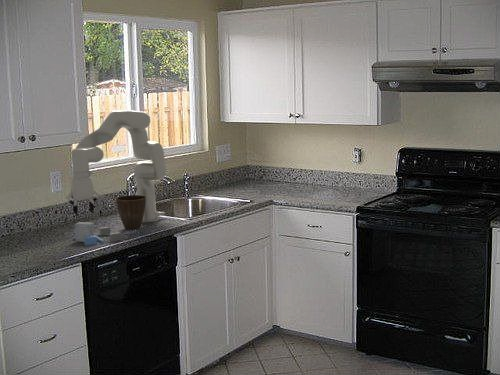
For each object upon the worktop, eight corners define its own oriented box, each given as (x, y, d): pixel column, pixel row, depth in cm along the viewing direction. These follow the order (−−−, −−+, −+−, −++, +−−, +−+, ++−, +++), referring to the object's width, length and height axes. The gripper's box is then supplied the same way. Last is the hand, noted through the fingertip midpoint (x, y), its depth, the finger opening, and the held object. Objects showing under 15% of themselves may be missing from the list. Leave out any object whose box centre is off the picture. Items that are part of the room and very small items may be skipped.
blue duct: (92, 235, 343) (91, 228, 342) (104, 242, 327) (103, 235, 327) (74, 238, 338) (74, 231, 338) (86, 245, 323) (85, 238, 322)
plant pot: (153, 227, 358) (152, 196, 355) (133, 233, 346) (131, 201, 343) (132, 224, 366) (130, 194, 364) (111, 230, 354) (109, 198, 352)
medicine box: (95, 240, 333) (94, 222, 332) (90, 242, 329) (89, 224, 327) (80, 239, 335) (79, 221, 334) (75, 241, 331) (74, 223, 330)
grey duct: (115, 232, 348) (115, 225, 348) (128, 239, 333) (128, 232, 332) (99, 234, 344) (98, 227, 344) (111, 241, 329) (110, 234, 328)
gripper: (96, 172, 334) (99, 209, 337) (60, 176, 326) (63, 213, 329) (101, 174, 328) (104, 211, 331) (64, 177, 319) (67, 216, 322)
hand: (83, 212), depth 330 cm, fingers open, 6 cm apart
